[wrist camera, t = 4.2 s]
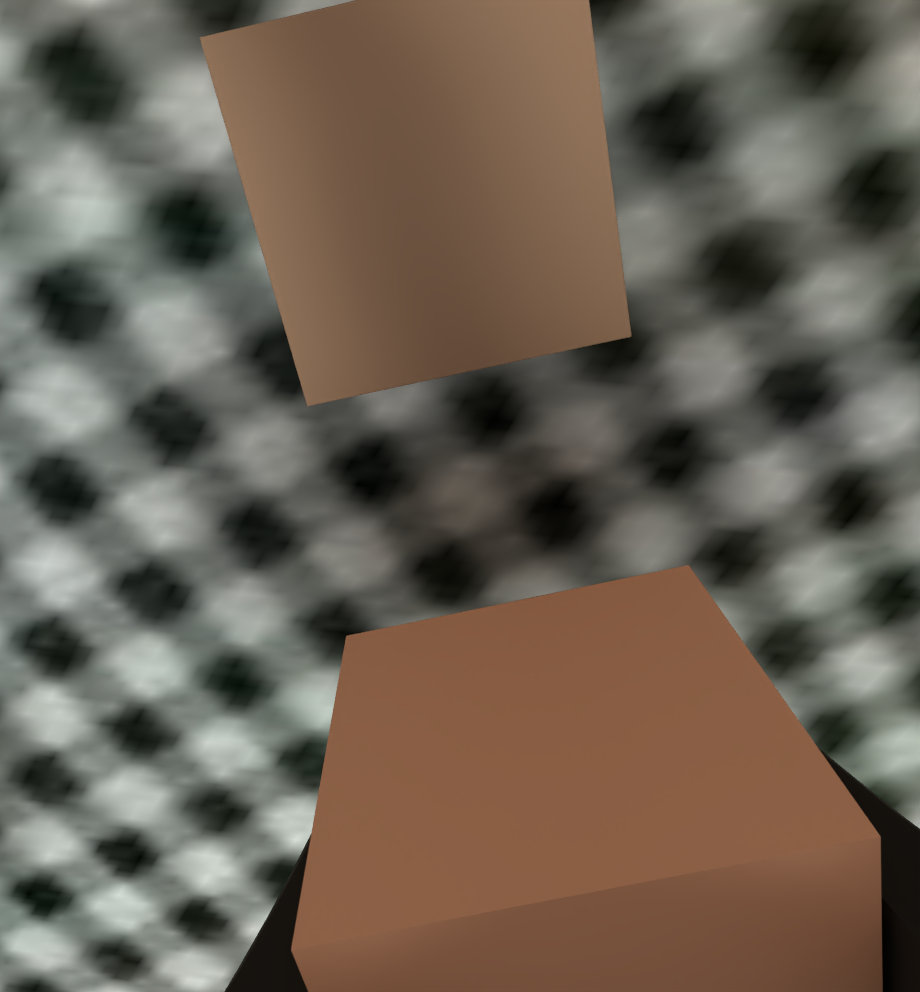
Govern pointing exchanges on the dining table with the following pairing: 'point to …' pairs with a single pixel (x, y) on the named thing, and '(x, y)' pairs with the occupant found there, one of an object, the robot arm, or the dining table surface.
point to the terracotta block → (581, 810)
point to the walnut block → (425, 185)
